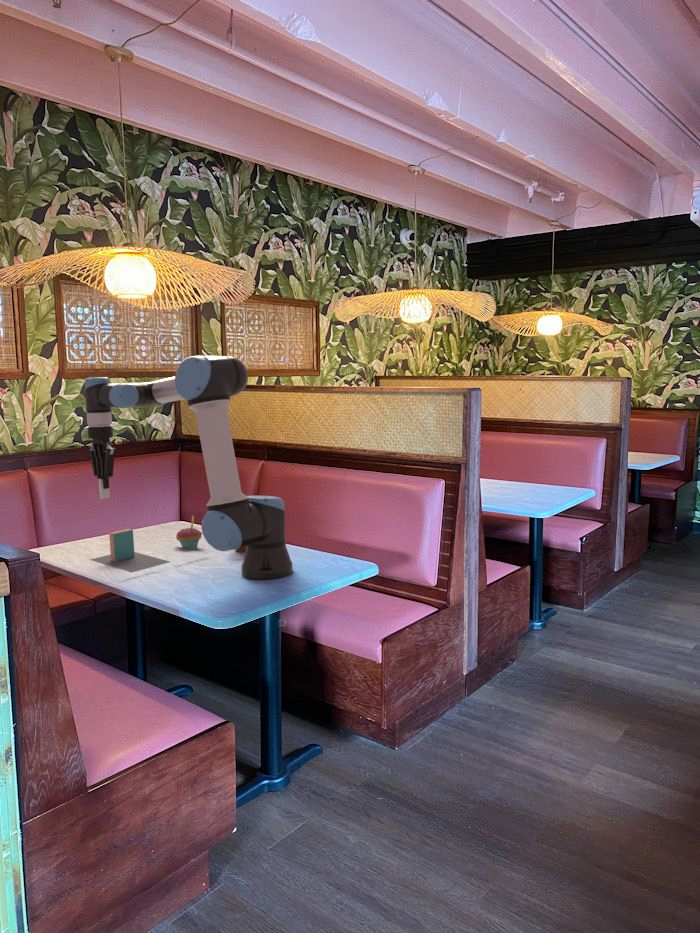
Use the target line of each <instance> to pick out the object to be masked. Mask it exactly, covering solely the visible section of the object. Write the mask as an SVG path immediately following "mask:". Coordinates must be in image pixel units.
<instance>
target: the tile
mask: <svg viewBox="0 0 700 933" xmlns="http://www.w3.org/2000/svg"><path fill="white" fill-rule="evenodd" d="M108 534H109V548H110V555H111V561H114V562H116V561H120V560H124V559H128V558H132V557H135V553H134V552H135V541H134V530H133V529H131V528H126V529H120V530H117V531H113V532H109V533H108Z"/></svg>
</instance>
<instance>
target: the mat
mask: <svg viewBox="0 0 700 933" xmlns="http://www.w3.org/2000/svg"><path fill="white" fill-rule="evenodd" d="M134 553H135V557H132V558H128V559H124V560H120V561H116V562H114V561H111V554H108V555H104V556H98V557H94V558H91V559H89V560H90V561H93V562H96V563H100V564H103V565H106V566H109V567H113V568H115V569H120V570H122V571H126V572H129V573H134V572H139V571H142V570H146V569H150V568H154V567H157V566H160V565H161V566H162V565H165V564H167V563H171V561H170V560H166V559H162V558H159V557H154V556H151V555H147V554H143V553H139V552H135V551H134Z"/></svg>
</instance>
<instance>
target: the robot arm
mask: <svg viewBox="0 0 700 933" xmlns="http://www.w3.org/2000/svg"><path fill="white" fill-rule="evenodd" d="M248 380H249V374H248V370H247V367H246V365H245V364H244V363H243V362H242V361H241V360H240V359H238V358H237V357H235V356H230V355H203V354H201V355H200V354H199V355H192V356H187V357H186V358H184V359H183V360H181V362H180V363H179V364H178V367H177V369H176V371H175V376H171V377H167V378H163V379H159V380H158V379H157V380H154V381H148V382H118V383H111V381H110V378H109V377H108V376H105V377H102V376H98V377H96V376H95V377H92V376H91V377H86V378H85V379H84V398H85V410H86V424H87V426H88V427H87V436H88V439H91V445H90V446H88V447H87V450H88V452H89V455H90V462H91V466H92V467H91V468H92V472H93V476H95V477H97V479H98V490H99V499H100V500H104V499H110V498H111V494H110V492H111V491H110V478H111V477H114V464H115V454H116V448H115V447H112V444H111V441H110V440H111V439H112V438H113V437H114V432H113V431H114V430H113V426H112V424H113V415H112V408H115V409H116V408H117V409H128V408H134V407H136V408H137V407H148V406H150V407H152V406H163V405H167V403H171V402H177V401H183V400H187V405H188V408H189V410H191V411H193V412H194V413H195V419H196V425H197V430H198V435H199V439H200V445H201V451H202V456H203V462H204V467H205V473H206V478H207V484H208V489H209V494H210V498H209V500H208V502H207V503H206V509H207V512H206V513H205V514H204V516H203V518H202V520H201V526H200V527H201V533H202V536H203V537H204V539H205V541H206V542H207V543H208V545H209V546H211V547H212V548H213V549H215V550H217V551H219V552H227V551H228V552H229V551H236V549H238V548H239V547H242V546H245V545H246V552H244V558H243V562H242V564H241V576H243V577H244V578H248V579H252V580H272V579H273V580H274V579H280V578H283V577H287V576H289V575H291V574H292V573H293V562H292V560H291V557H290V554H289V551H288V549H287V543H286V540H287V539H286V509H285V500H283V498H281V497H279V496H272V495H246V494H244V493H243V492H242V488H241V487H242V486H241V482H240V477H239V471H238V464H237V460H236V459H237V458H236V455H235V449H234V443H233V437H232V432H231V427H230V421H229V416H228V410H227V408H228V406H229V404H230V403H231V397H234V396H236V395H238V394H240V393H242V392H243V391H244V390H245V388H246V386H247V384H248Z"/></svg>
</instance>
